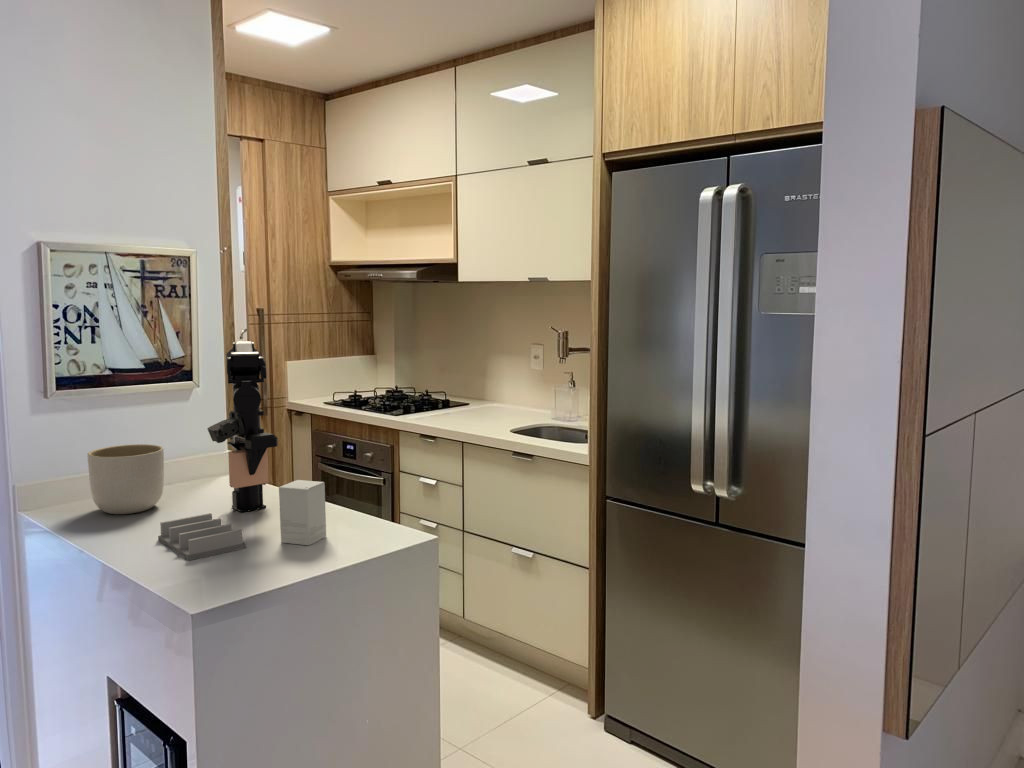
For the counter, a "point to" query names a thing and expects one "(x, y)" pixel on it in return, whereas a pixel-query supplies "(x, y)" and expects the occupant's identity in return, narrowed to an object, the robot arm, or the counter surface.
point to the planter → (126, 477)
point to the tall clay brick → (246, 470)
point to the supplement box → (302, 512)
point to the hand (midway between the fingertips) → (248, 473)
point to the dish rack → (200, 536)
